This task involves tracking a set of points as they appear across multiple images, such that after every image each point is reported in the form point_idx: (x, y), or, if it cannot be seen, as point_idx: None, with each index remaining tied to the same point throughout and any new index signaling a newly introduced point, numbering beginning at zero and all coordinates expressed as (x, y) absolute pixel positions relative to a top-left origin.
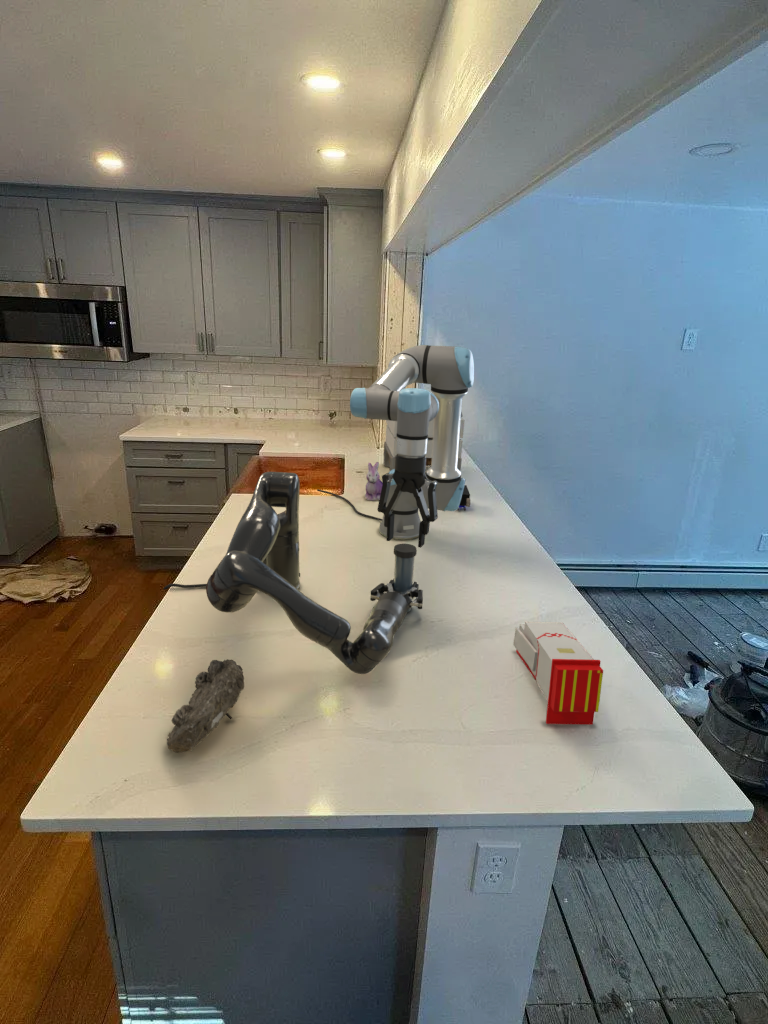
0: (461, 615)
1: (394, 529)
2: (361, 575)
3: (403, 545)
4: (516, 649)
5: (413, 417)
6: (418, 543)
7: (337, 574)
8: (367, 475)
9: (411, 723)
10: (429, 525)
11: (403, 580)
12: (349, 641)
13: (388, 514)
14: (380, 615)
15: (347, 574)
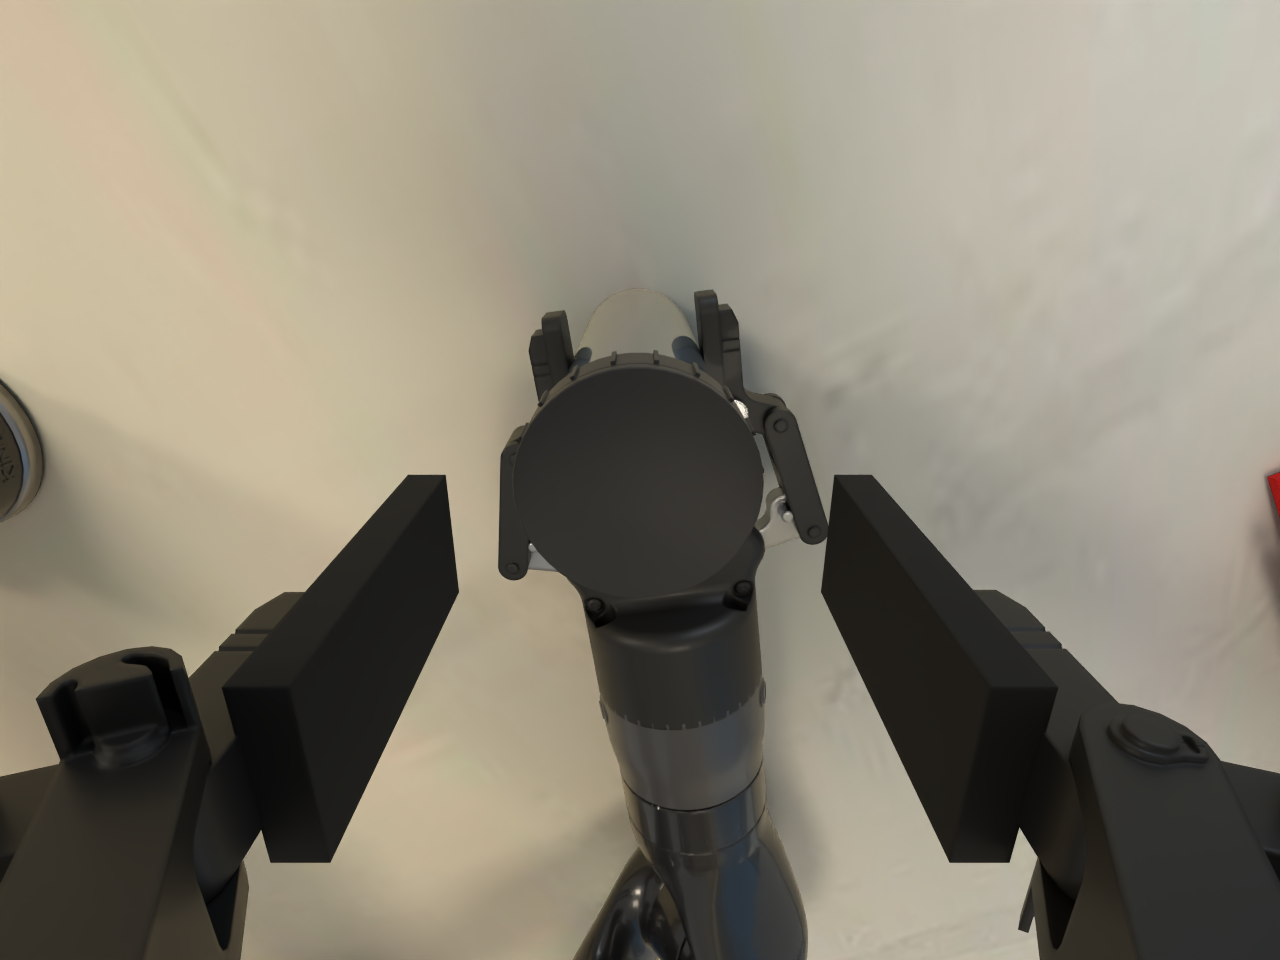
0: (980, 252)
1: None
2: (186, 22)
3: (593, 441)
4: (1278, 479)
5: None
6: (837, 619)
7: (45, 102)
8: None
9: (899, 923)
10: (1089, 674)
11: None
12: (628, 918)
13: (242, 867)
14: (700, 851)
15: (97, 62)
